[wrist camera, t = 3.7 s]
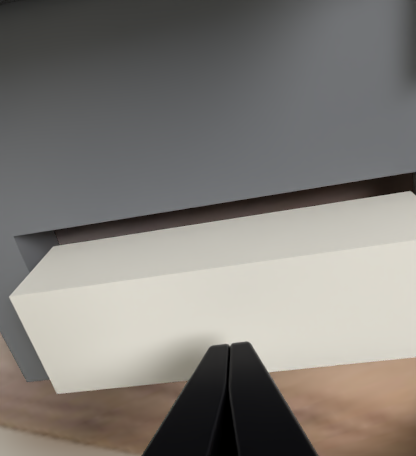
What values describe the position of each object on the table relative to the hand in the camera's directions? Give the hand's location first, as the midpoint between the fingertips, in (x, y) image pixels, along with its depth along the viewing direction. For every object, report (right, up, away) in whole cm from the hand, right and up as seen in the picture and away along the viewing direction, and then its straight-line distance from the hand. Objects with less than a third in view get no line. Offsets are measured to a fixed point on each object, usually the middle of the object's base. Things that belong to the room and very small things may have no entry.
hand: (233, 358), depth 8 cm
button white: (0, +2, +3) cm, 4 cm away
